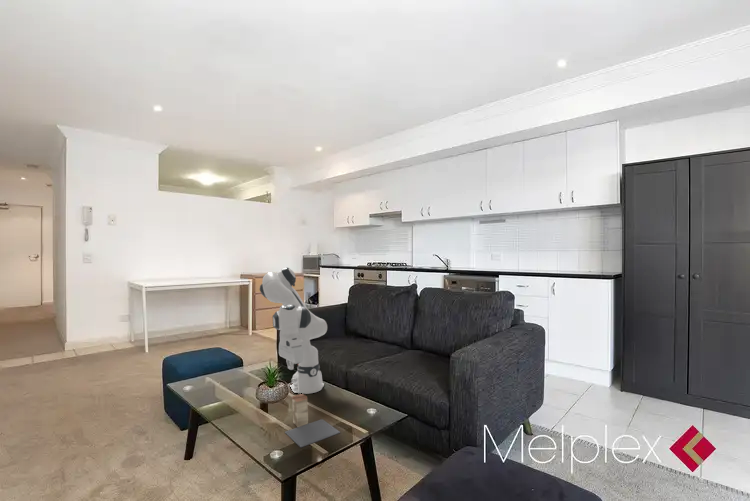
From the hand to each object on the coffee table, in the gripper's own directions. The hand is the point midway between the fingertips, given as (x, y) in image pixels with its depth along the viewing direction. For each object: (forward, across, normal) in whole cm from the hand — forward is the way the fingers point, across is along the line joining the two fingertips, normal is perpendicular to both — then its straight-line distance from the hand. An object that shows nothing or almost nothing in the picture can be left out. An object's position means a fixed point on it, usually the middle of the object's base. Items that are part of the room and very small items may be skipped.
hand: (290, 369), depth 172 cm
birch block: (+22, +9, 0) cm, 24 cm away
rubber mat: (+22, +20, 0) cm, 30 cm away
